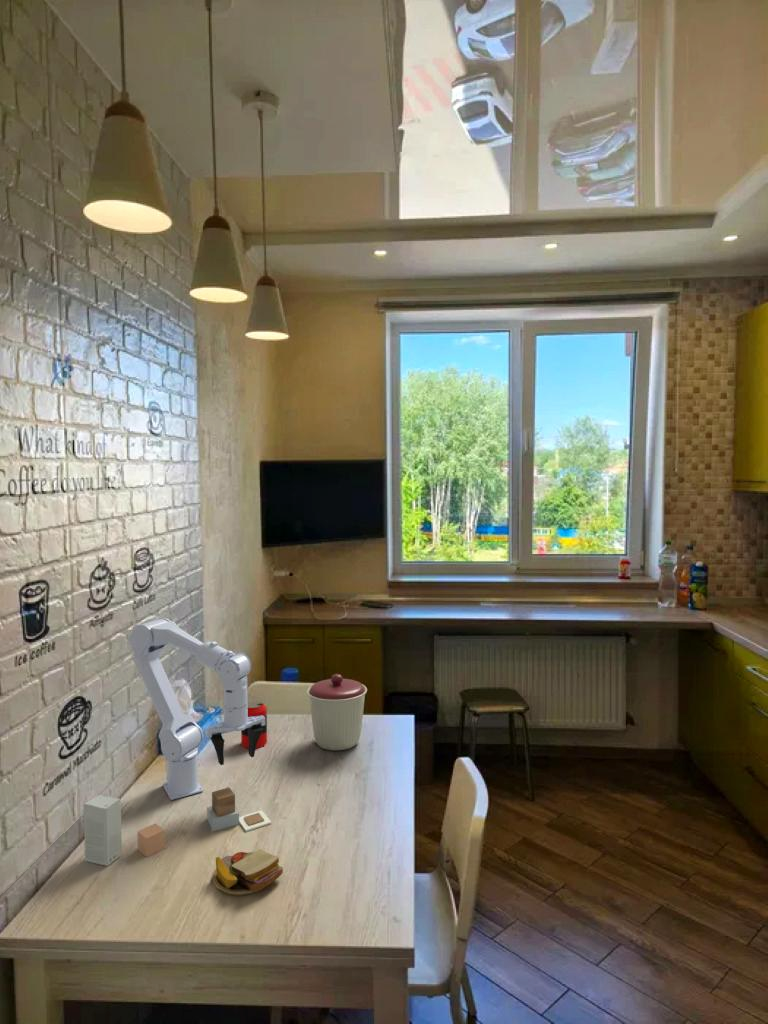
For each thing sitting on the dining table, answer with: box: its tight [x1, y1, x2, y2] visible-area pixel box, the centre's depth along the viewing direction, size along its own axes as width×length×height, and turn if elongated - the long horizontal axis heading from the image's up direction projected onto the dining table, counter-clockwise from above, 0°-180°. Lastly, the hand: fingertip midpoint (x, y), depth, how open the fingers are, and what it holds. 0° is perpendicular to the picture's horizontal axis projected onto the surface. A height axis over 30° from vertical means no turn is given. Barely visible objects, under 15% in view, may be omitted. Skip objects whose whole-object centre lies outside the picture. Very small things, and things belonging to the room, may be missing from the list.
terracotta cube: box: [136, 822, 166, 858], centre depth 125 cm, size 4×4×4 cm
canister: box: [306, 673, 368, 752], centre depth 177 cm, size 18×18×21 cm
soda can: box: [240, 700, 268, 749], centre depth 178 cm, size 8×8×12 cm
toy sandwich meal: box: [212, 849, 284, 896], centre depth 115 cm, size 12×14×5 cm
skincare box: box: [83, 794, 123, 867], centre depth 122 cm, size 6×4×12 cm
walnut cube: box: [211, 787, 236, 817], centre depth 135 cm, size 4×4×4 cm
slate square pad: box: [206, 805, 240, 833], centre depth 135 cm, size 6×6×3 cm
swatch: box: [239, 809, 272, 832], centre depth 135 cm, size 6×6×1 cm
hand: (236, 759), depth 145 cm, fingers open, 7 cm apart
